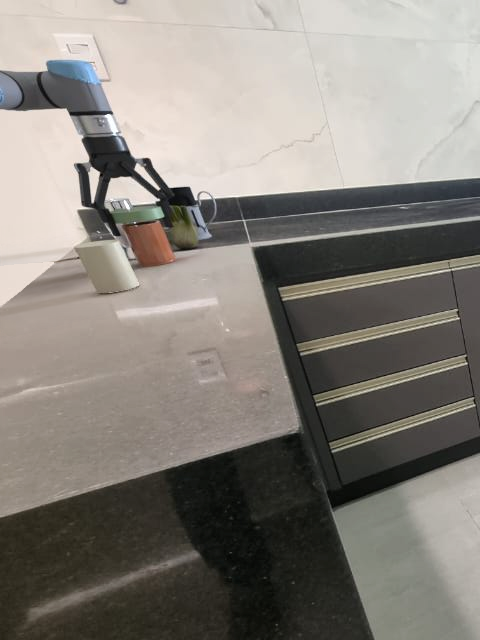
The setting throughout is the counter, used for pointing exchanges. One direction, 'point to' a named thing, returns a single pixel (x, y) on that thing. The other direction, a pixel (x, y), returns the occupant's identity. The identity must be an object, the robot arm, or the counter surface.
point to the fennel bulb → (182, 229)
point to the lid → (137, 214)
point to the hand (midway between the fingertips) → (144, 231)
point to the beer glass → (116, 205)
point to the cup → (149, 243)
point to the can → (107, 266)
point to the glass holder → (191, 208)
